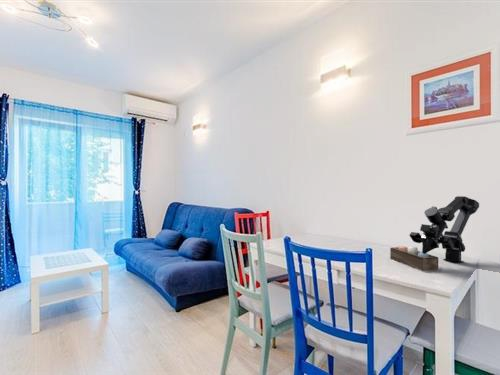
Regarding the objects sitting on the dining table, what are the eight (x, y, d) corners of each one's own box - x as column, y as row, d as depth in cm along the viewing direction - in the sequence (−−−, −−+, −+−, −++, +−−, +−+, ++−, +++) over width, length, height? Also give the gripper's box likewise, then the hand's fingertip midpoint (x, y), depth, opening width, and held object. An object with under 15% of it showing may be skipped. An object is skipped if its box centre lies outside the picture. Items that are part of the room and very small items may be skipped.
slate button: (423, 261, 132) (423, 252, 132) (431, 264, 128) (431, 254, 128) (415, 262, 132) (415, 252, 132) (423, 264, 127) (422, 254, 127)
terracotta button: (403, 254, 146) (403, 246, 146) (409, 256, 142) (409, 247, 142) (396, 255, 146) (396, 246, 146) (402, 257, 141) (402, 248, 141)
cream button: (413, 255, 139) (413, 246, 139) (419, 257, 135) (419, 248, 135) (405, 255, 139) (405, 246, 139) (412, 258, 134) (411, 248, 134)
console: (404, 257, 148) (404, 247, 148) (438, 269, 127) (438, 257, 127) (390, 258, 147) (390, 247, 147) (421, 270, 125) (421, 258, 125)
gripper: (411, 216, 141) (397, 239, 136) (450, 220, 124) (436, 246, 119) (420, 230, 144) (407, 252, 139) (459, 236, 127) (446, 261, 122)
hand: (423, 253), depth 130 cm, fingers closed, pressing on slate button
